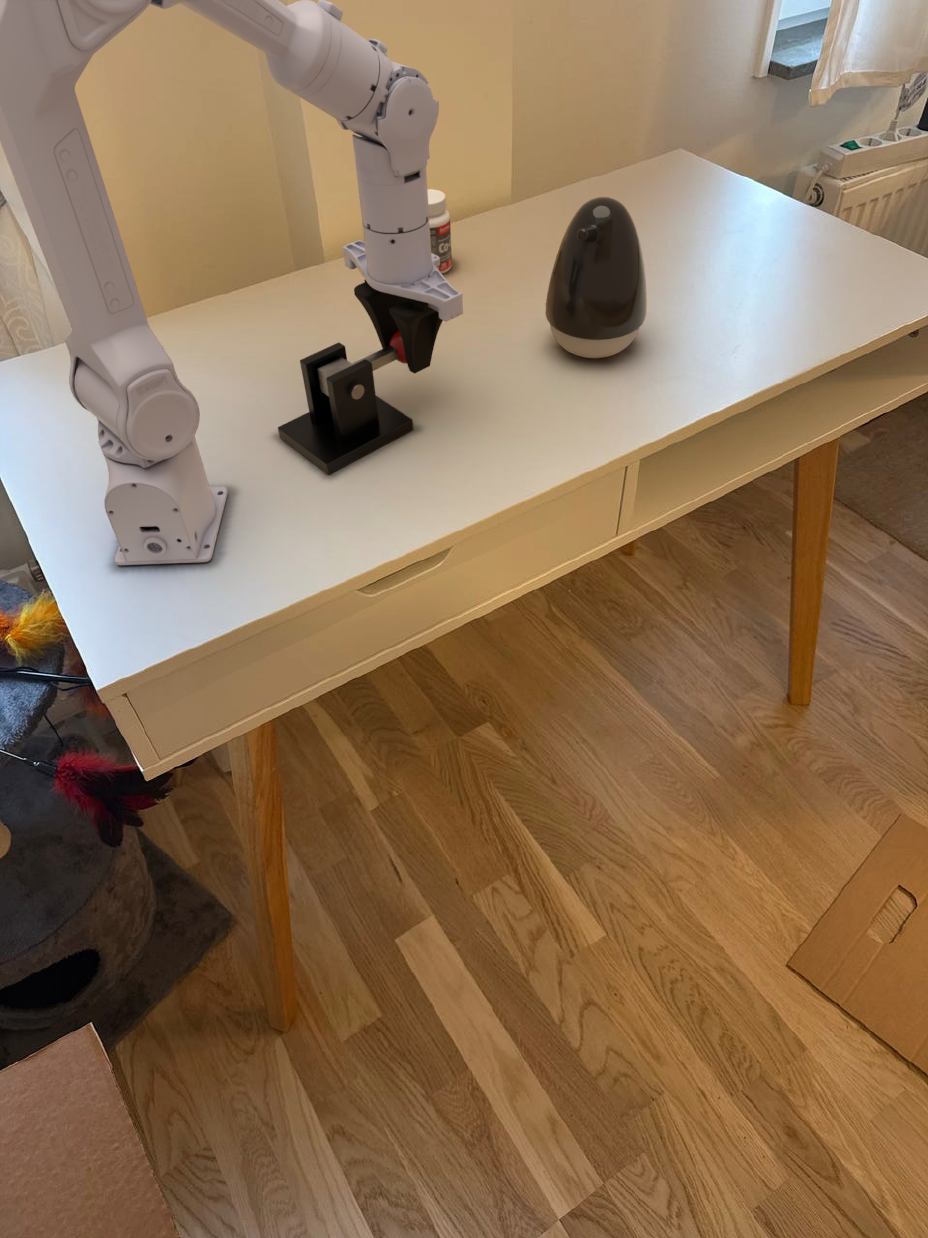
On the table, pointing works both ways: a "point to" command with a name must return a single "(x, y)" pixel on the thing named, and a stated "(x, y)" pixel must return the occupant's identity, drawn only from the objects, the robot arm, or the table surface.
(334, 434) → the bracket
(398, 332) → the lever
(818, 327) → the table surface
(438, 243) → the pill bottle
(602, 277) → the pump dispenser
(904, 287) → the table surface
